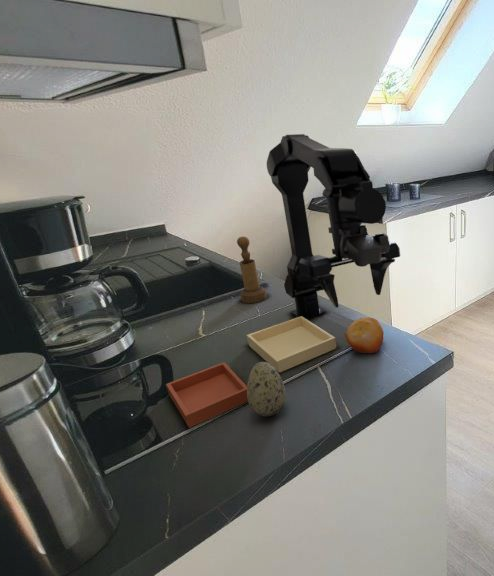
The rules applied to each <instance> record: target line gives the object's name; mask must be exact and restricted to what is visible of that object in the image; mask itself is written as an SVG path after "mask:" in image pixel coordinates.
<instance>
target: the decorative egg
mask: <svg viewBox="0 0 494 576" xmlns="http://www.w3.org/2000/svg"><path fill="white" fill-rule="evenodd" d="M246 386H247V399H248V401H247V402H248V405H249V408H250V409H251V410H252V412H254V413H255V414H256V415H258V416H260V417H271V416H275V415H276V414H278V413H279V412H280V411H281V410H282V408H283V407H284V405H285V403H286V399H287V391H286V387H285V384H284V381H283V379H282V377H281V375H280V373H279V372H278V371H277V370H276V369H275V368H274V367H273V366H271V365H270V364H269V363H268V362H267V361H259V362H256V363H255V364H254V365H253V366H252V369H251V370H250V373H249V375H248V378H247V384H246Z"/></svg>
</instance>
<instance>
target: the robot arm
mask: <svg viewBox="0 0 494 576" xmlns="http://www.w3.org/2000/svg"><path fill="white" fill-rule="evenodd" d="M311 168H312V169H313V176H314V177H315V178H316V179H317V180H318V181H319V182H320V183H321V185H322V186H323V187H324V189H323V190H322V193H321V194H322V197H325V200H326V201H325V202H326V207H327V214H328V218H329V225H330V226H329V227H327V229H328V233H329V234H331V237H332V243H333V248H332V249H331V252H332V255H335V256H331V257H329V256H323V255H322V254H321V255H320V254H316V255H314V254H313V248H312V242H311V241H312V240H311V236H310V235H311V234H310V229H309V223H308V217H307V210H306V201H305V197H304V196H305V195H304V192H305V190H306V188H307V186H308V183H309V181H310V180H309V172H310V169H311ZM266 170H267V173H268V175H269V177H270V179H271V183H272V184H273V186H274V187H275V188H276V189H277V190H278V192H279V193H280V194H281V197H282V203H283V209H284V215H285V222H286V228H287V233H288V239H289V244H290V245H289V246H290V251H291V256H290V258H289V261H288V263H287V267H286V268H287V275H286V277H285V281H284V284H283V287H284V290H285V291H284V292H285V293H286V295H288V296H289V297H290V298H291V299H294V304H295V305H294V306H295V309H294V310H291V313H290V314H292V315H293V316H295V318H297V317H300V316H302V317H304V318H305V319H307V320H309V319H312V318H314V317H318V316H320V315H323V314H326V310H324V309H323V308H321V307H320V306H319V305H320V303H319V296H318V292H319V291H324V292H325V294H326V296H327V297H328V299H329V300H330V302H331V304H332V305H333V307H334V308H339V299H338V295H337V294H338V293H337V290H336V286H335V276H336V275H335V274H333V273H332V271H333V268H336V267H339V266H344V265H348V264H352V263H354V264H355V266H357V267H362V268H363V267H367V266H369V269H370V273H371V279H372V284H373V288H374V292H375V295H377V296H380V295H381V293H382V288H383V285H384V279H385V276H386V273H387V270H388V268H389V267H390V265H391V264H393V263H395V261H396V258H400V257H401V250H400V246H399V245H398V244H397V242H393V241H389V235H388V234H386V233H385V232H381V233H375V234H374V235H369V233H368V229H367V226H366V224H369V225H373V224H377V223H379V222H380V221H382V219H383V217H384V216H385V214H386V211H387V203H386V200H385V198H384V196H383V194H382V193H381V192H380V191H379V190H377V189H375V188H374V186H373V182H372V180H371V179H370V178H371V176H370V175H369V173H368V172H367V170H366V168H365V166H364V165H363V163H362V161H361V159H360V157H359V156H358V154H357V153H356V151H355V150H354V149H353V148H345V147H330V146H326V145H325V144H323V143H321V142H318V141H317V140H315V139H312V138H310V136H309V135H306V134H304V133H298V134H296V133H295V134H285V135H283V136H281V139H280V142H279V143H278V144H277V145H275V147H273V148H271V150H270V151H269V153H268V156H267V159H266Z"/></svg>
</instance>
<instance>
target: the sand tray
mask: <svg viewBox="0 0 494 576" xmlns="http://www.w3.org/2000/svg"><path fill="white" fill-rule="evenodd" d="M246 339H247V343H248V346H249V347H250V348H251V349H252V351H254V352H255V353H256V354H258V355H259V357H261V358H262V359H263V360H264V361H265V362H266V363H269V364H270V365H271V366H273V367H274V368H275V370H276V371H277V372H278V374H280V373H282V372H284V371H287V370H289V369H291V368H293V367H296V366H299V365H301V364H303V363H305V362H308V361H310V360H313V359H314V358H315V359H316V358H317V357H319V356H323V355H325V354H327V353H329V352H331V351H334V350H335V349H337V342H336V341H337V340H336V337H335V336H333V335H332V334H330V333H329V332H327V331H325V330H324V329H323V328H321V327H319V326H318V325H316V324H315V323H313V322H311V321H310V320H309V319H305V318H304V317H302V316H300V317H295V318H292V319H289V320H285V321H282V322H280V323H277V324H275V325H272V326H269V327H266V328H263V329H260V330H256V331H254V332H252V333H249V334H246Z"/></svg>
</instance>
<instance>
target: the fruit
mask: <svg viewBox="0 0 494 576" xmlns="http://www.w3.org/2000/svg"><path fill="white" fill-rule="evenodd" d="M344 336H345V340H346V342H347V344H348V345H349V347H350V348H351V350H353V351H354V352H355V353H358V354H359V353H360V354H376V353H377V352H378V351H380V349H381V348H382V345H383V343H384V330H383V327H382V325H381V323H380V322H379V321H378V319H376V318H375V317H371V316H370V317H369V316H367V317H360V318H358V319H355V320H354V321H353V322H351V323H350V324H349V325H348V327H347V329H346V332H345V334H344Z"/></svg>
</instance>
